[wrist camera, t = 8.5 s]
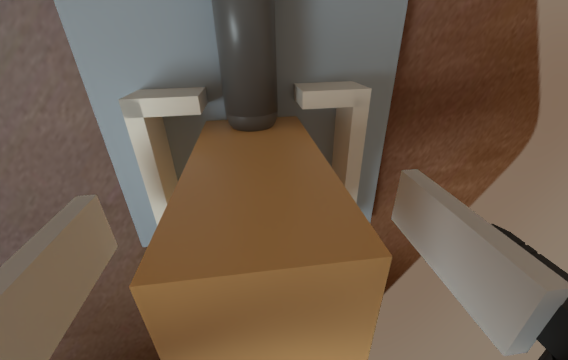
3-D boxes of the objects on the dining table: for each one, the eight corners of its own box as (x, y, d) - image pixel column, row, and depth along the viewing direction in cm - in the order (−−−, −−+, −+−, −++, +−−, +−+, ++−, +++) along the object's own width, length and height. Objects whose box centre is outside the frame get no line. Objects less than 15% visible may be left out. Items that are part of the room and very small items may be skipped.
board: (365, 217, 20) (386, 247, 17) (146, 239, 18) (128, 276, 15) (423, -149, 11) (486, -214, 8) (4, -174, 9) (-103, -268, 6)
